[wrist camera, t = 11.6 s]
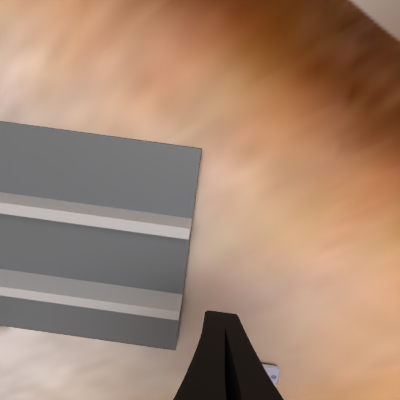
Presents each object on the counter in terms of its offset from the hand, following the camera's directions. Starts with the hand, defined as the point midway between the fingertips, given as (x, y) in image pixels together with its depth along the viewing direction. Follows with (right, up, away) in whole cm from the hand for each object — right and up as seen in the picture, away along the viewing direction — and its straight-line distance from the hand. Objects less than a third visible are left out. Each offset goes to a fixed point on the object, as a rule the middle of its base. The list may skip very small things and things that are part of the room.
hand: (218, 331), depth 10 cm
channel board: (-18, +3, +10) cm, 21 cm away
